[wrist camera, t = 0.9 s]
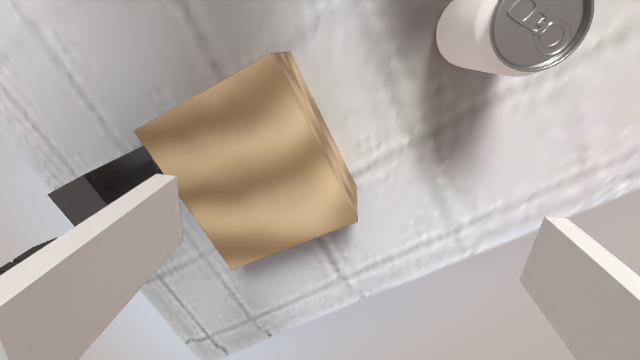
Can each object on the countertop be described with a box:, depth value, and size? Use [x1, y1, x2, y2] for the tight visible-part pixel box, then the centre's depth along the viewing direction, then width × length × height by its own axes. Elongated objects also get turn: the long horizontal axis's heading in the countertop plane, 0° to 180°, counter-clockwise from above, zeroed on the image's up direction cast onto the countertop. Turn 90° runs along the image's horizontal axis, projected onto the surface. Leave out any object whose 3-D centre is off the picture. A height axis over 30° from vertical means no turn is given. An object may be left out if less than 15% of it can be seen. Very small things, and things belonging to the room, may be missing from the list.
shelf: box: [134, 52, 358, 270], centre depth 32 cm, size 16×14×8 cm
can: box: [436, 0, 594, 76], centre depth 24 cm, size 6×6×12 cm
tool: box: [48, 146, 164, 226], centre depth 32 cm, size 4×20×10 cm, turn 117°
